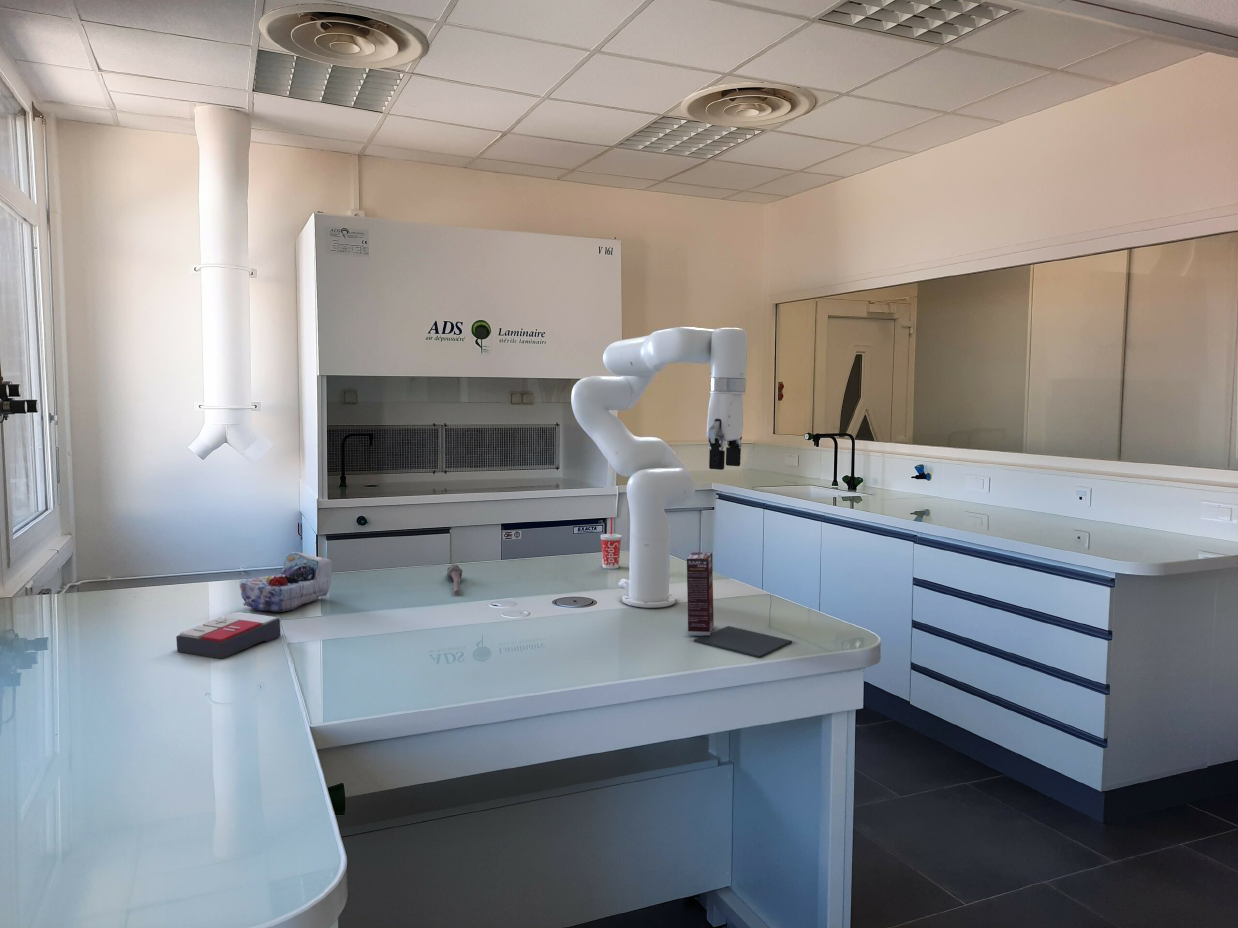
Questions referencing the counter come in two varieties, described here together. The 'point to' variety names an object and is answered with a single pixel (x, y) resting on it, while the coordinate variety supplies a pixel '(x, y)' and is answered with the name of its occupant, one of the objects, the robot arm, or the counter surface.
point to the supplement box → (700, 594)
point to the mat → (743, 641)
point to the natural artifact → (455, 577)
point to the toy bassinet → (289, 584)
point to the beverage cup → (611, 549)
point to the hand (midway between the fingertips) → (724, 467)
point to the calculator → (228, 634)
